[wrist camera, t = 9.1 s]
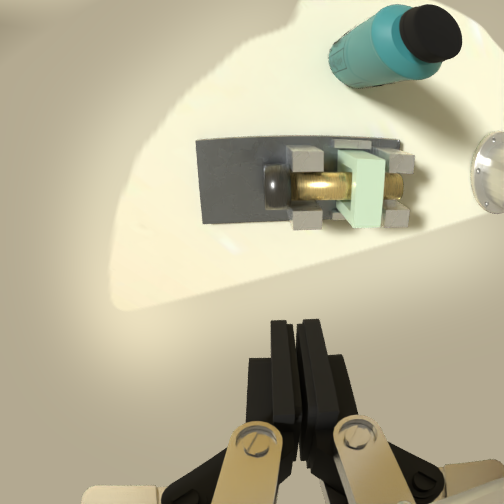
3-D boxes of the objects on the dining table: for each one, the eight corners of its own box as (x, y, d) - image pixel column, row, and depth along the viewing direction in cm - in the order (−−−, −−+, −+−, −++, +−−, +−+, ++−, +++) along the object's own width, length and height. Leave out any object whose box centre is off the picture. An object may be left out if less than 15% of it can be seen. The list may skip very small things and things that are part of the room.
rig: (395, 139, 35) (423, 146, 29) (390, 215, 39) (414, 235, 33) (197, 139, 35) (185, 146, 29) (204, 220, 39) (195, 243, 33)
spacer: (362, 150, 34) (385, 159, 28) (359, 206, 37) (380, 227, 31) (337, 149, 35) (357, 158, 28) (336, 207, 37) (353, 228, 31)
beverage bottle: (364, 99, 33) (466, 100, 15) (314, 73, 32) (382, 41, 14) (383, 55, 30) (489, 27, 12) (334, 29, 29) (411, -32, 11)
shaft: (390, 161, 34) (408, 170, 30) (387, 200, 36) (404, 213, 32) (262, 161, 34) (264, 168, 30) (264, 202, 36) (266, 216, 32)
